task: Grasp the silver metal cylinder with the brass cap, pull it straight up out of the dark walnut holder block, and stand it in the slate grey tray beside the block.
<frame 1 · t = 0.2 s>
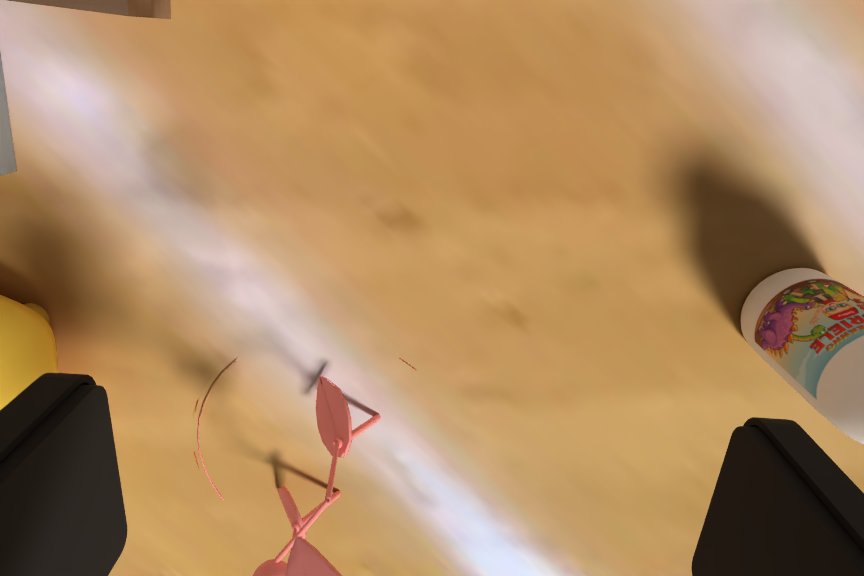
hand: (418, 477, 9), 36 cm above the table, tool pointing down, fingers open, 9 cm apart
milk bottle: (785, 309, 48), on the table
figurine: (286, 426, 53), on the table
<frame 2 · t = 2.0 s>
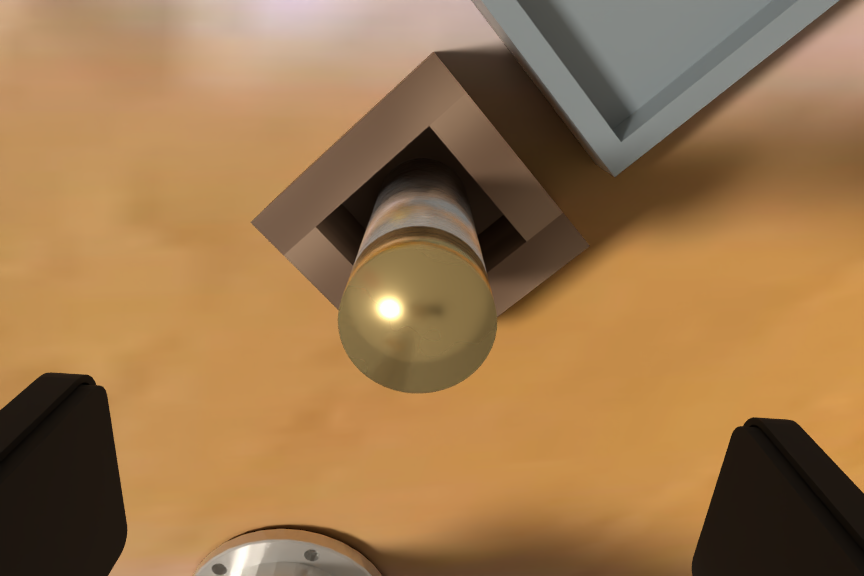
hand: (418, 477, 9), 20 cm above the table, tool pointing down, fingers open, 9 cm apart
holder block: (423, 197, 28), on the table
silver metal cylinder: (423, 202, 27), point 1 cm above the table, touching holder block
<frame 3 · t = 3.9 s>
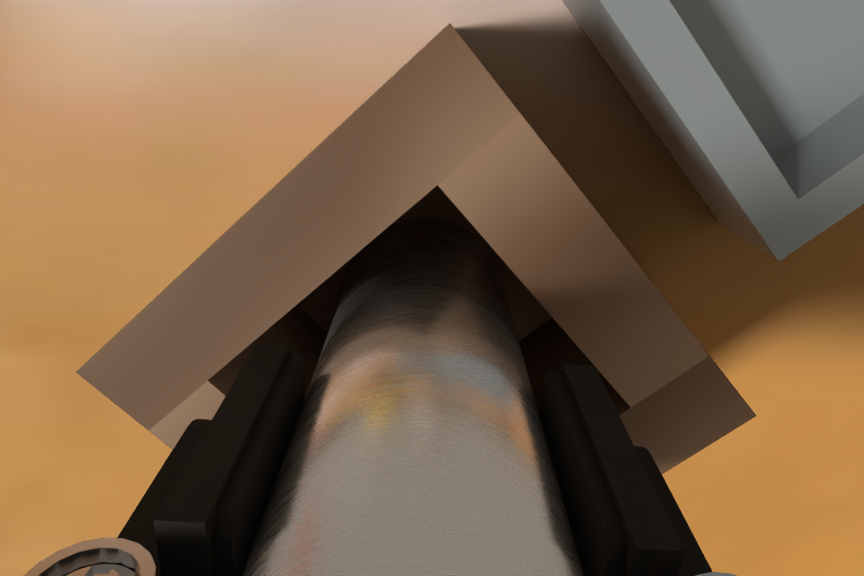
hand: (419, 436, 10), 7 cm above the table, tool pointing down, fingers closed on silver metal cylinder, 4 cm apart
holder block: (425, 277, 17), on the table
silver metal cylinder: (424, 290, 16), point 1 cm above the table, touching gripper, holder block
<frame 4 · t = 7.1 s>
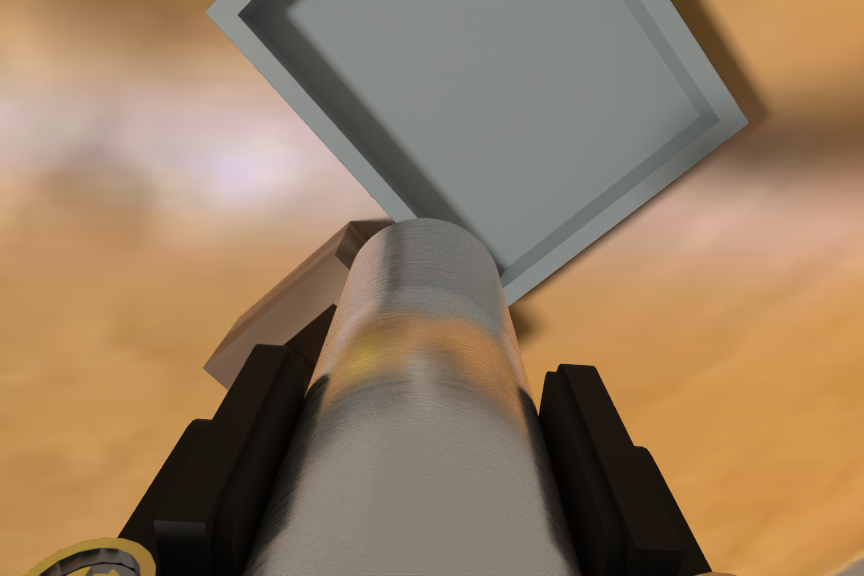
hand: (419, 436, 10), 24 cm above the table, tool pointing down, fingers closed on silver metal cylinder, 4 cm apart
holder block: (347, 325, 36), on the table
tray: (481, 68, 31), on the table
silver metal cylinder: (424, 291, 16), point 18 cm above the table, touching gripper
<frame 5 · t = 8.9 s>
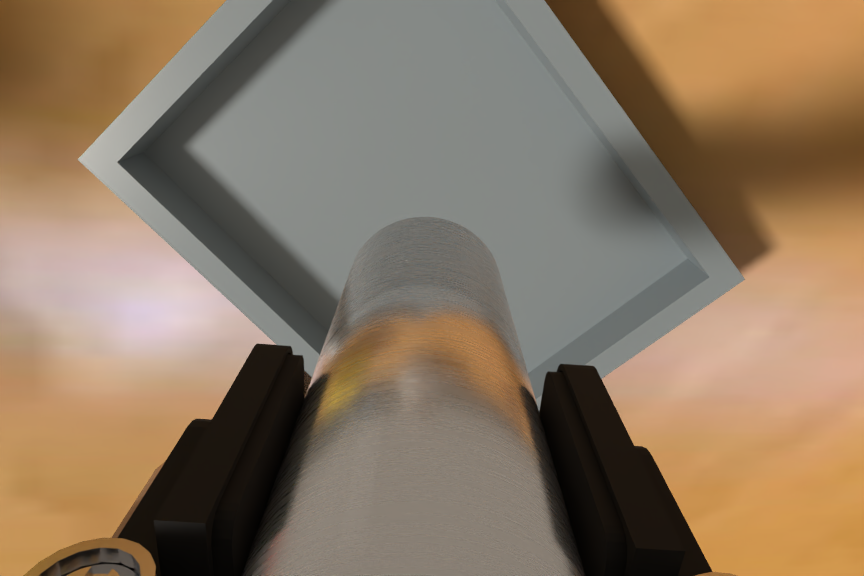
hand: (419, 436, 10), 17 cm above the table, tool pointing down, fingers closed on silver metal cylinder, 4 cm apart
holder block: (281, 476, 31), on the table
tray: (425, 202, 26), on the table
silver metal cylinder: (424, 290, 16), point 11 cm above the table, touching gripper
when the fingers open (9 cm above the table, at t = 10.5 s): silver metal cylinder drops 2 cm, resting on tray.
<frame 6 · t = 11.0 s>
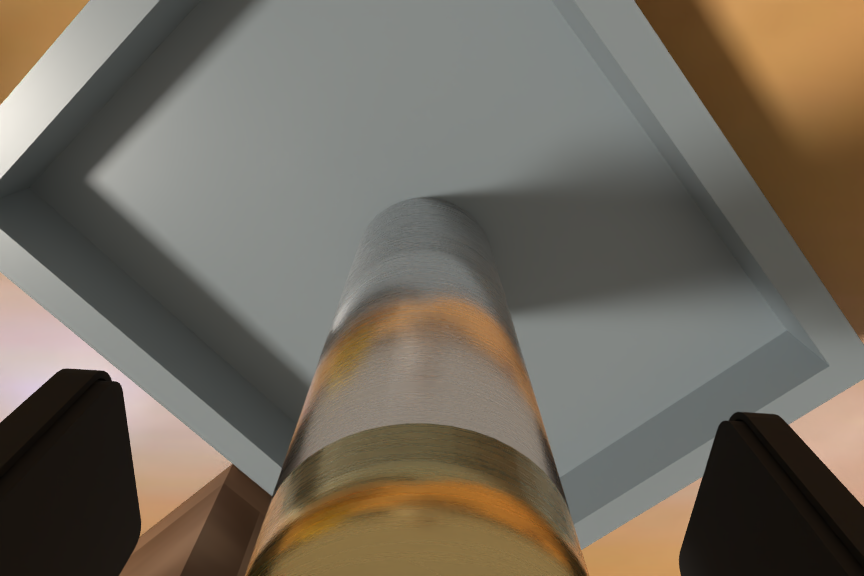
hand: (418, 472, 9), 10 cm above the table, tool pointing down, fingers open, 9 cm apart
tray: (426, 253, 19), on the table
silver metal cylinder: (424, 263, 18), point 1 cm above the table, touching tray
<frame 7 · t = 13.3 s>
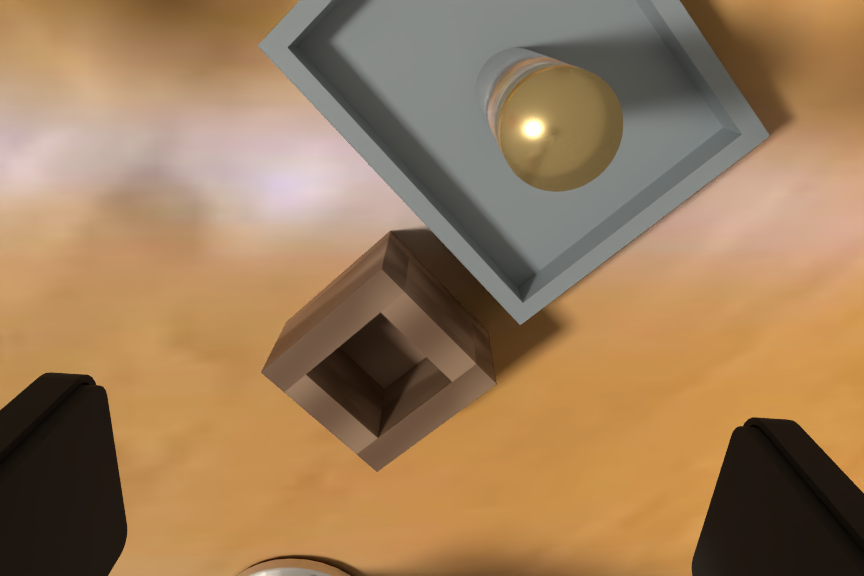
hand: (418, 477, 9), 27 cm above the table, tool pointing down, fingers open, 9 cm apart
holder block: (387, 327, 38), on the table
tray: (513, 86, 32), on the table
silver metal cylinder: (514, 88, 32), point 1 cm above the table, touching tray
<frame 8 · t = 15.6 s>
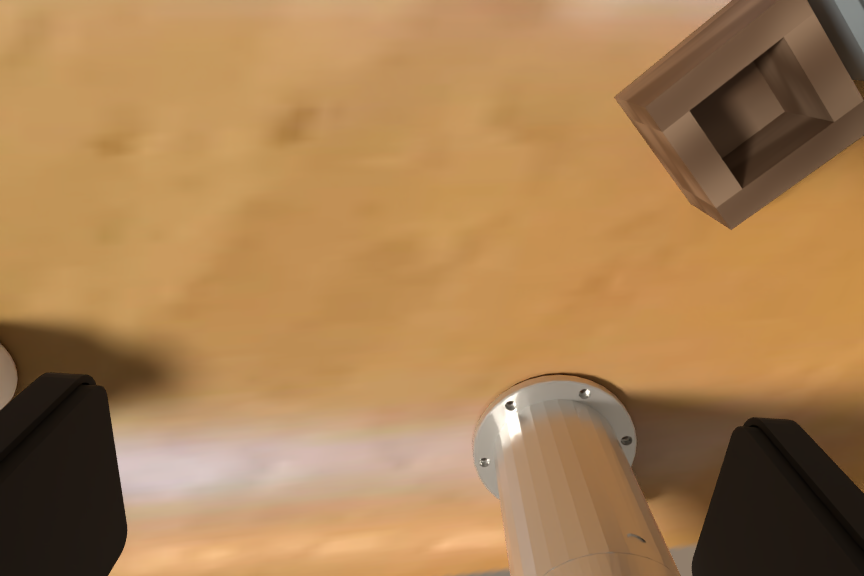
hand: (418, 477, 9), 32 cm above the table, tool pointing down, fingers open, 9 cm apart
holder block: (714, 104, 38), on the table
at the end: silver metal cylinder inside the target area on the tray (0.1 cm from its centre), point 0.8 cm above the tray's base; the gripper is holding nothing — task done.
